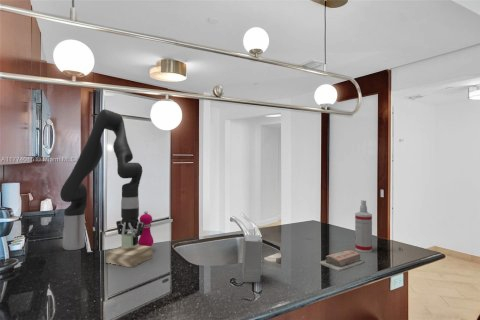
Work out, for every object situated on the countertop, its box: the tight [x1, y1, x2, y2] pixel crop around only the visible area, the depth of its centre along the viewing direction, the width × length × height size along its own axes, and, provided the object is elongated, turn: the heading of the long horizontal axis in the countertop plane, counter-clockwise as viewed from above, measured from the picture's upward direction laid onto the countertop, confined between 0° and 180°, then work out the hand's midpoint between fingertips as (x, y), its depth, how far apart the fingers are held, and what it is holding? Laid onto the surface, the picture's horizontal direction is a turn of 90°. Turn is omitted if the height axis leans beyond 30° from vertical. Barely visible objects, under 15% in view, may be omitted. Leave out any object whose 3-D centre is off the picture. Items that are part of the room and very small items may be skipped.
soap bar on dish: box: [319, 249, 365, 272], centre depth 131 cm, size 18×5×10 cm
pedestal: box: [105, 244, 154, 268], centre depth 135 cm, size 14×14×5 cm
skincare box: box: [241, 234, 263, 283], centre depth 114 cm, size 8×7×16 cm
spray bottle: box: [354, 200, 373, 253], centre depth 151 cm, size 8×8×25 cm
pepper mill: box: [138, 210, 154, 247], centre depth 149 cm, size 7×7×20 cm
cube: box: [121, 232, 139, 247], centre depth 135 cm, size 5×5×5 cm
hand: (130, 244), depth 135 cm, fingers closed on cube, 5 cm apart
